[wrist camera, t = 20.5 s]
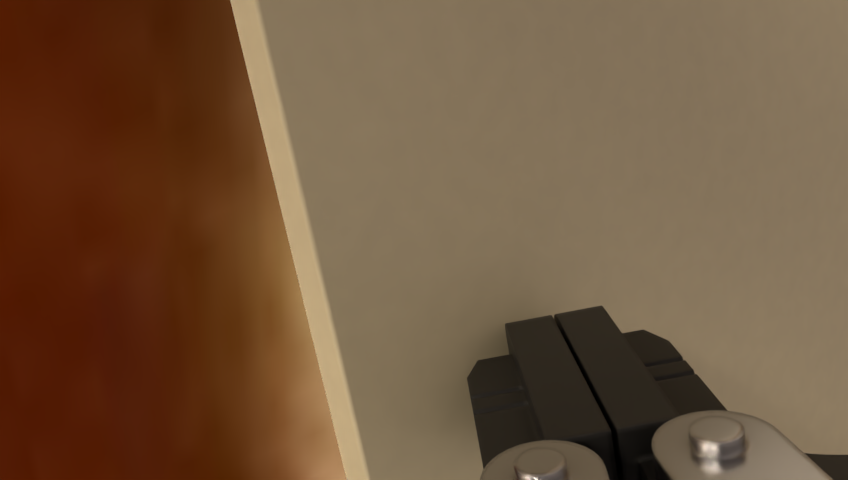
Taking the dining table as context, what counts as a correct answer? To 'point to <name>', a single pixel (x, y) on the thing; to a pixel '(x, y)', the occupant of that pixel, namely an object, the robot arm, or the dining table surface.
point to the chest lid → (558, 199)
